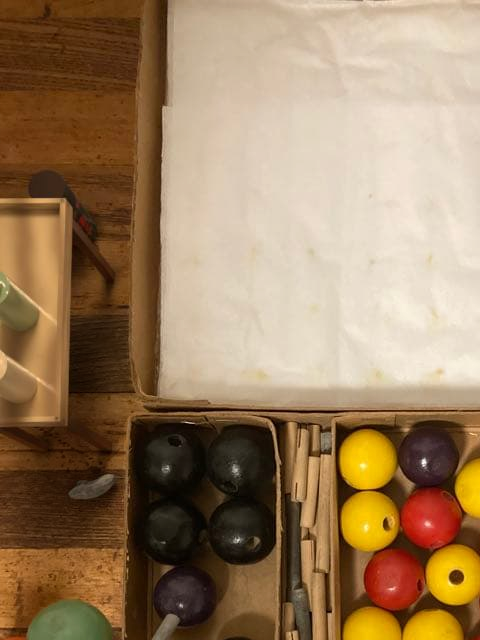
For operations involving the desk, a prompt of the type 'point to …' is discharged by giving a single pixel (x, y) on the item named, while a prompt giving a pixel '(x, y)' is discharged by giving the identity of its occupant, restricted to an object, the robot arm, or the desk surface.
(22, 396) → the cream bottle
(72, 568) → the desk surface
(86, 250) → the tray stand
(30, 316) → the sage bottle
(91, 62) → the desk surface
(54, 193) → the deodorant
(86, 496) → the fossil
